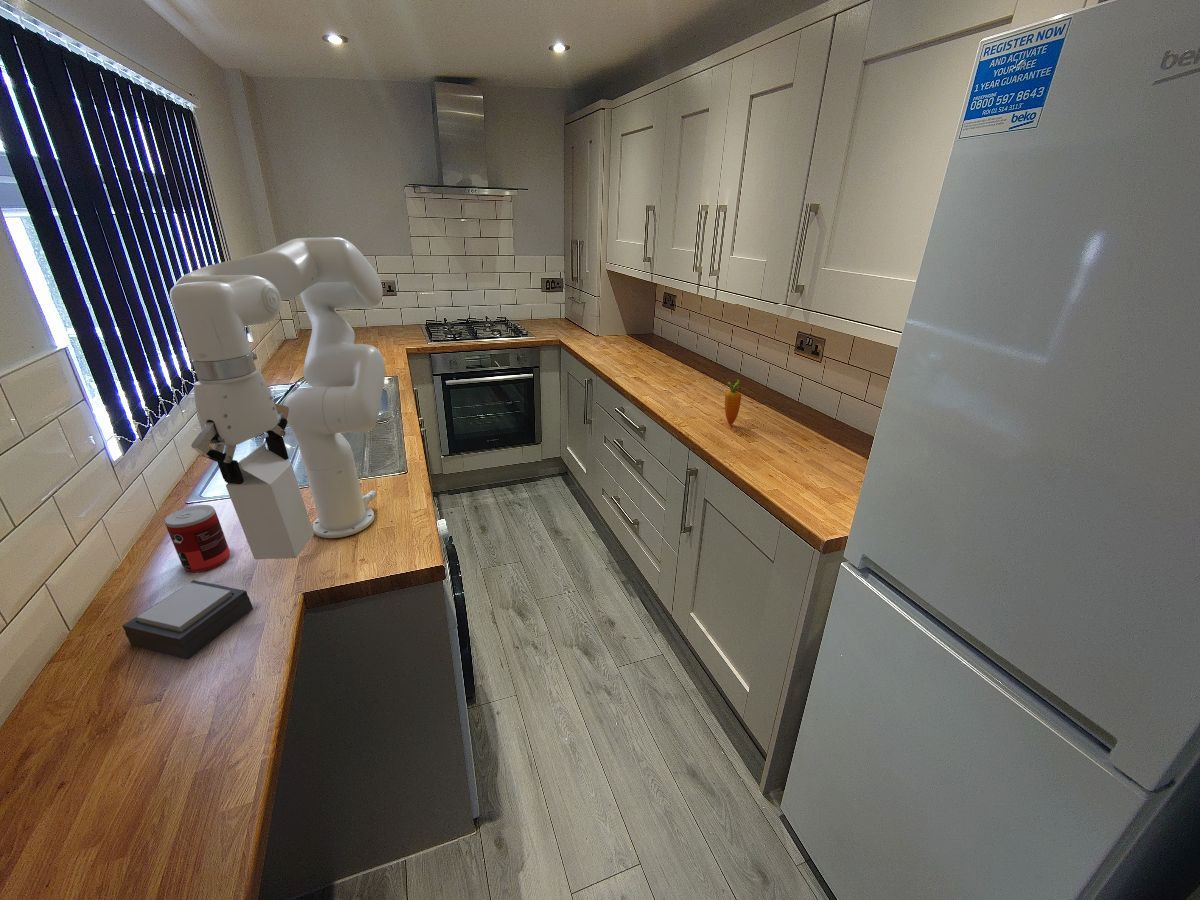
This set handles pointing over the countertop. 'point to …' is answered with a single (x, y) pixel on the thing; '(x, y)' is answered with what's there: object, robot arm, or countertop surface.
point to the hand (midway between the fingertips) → (258, 470)
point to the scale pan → (184, 607)
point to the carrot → (732, 403)
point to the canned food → (198, 538)
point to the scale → (196, 633)
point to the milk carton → (270, 506)
